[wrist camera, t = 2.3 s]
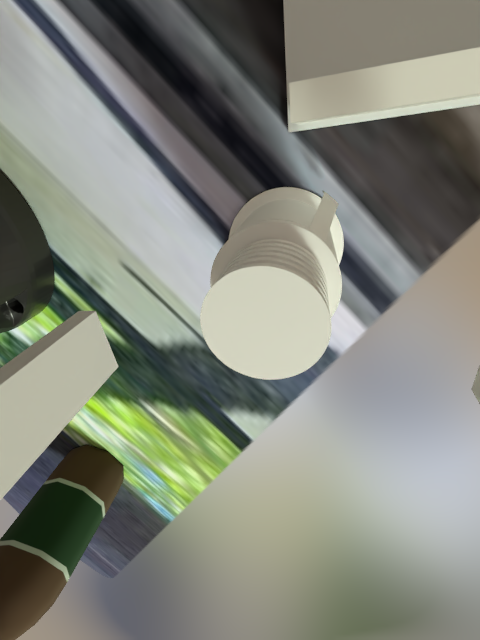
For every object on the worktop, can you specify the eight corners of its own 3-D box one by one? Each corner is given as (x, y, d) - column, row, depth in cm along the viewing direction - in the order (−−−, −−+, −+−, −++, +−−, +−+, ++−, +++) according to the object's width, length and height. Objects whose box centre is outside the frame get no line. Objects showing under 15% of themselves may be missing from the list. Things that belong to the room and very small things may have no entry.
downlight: (287, 320, 22) (272, 433, 13) (206, 261, 21) (134, 342, 12) (375, 229, 18) (434, 309, 9) (279, 151, 17) (247, 158, 8)
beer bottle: (115, 488, 42) (-72, 814, 22) (65, 459, 41) (-181, 775, 21) (136, 466, 37) (-73, 847, 18) (80, 433, 36) (-210, 800, 17)
